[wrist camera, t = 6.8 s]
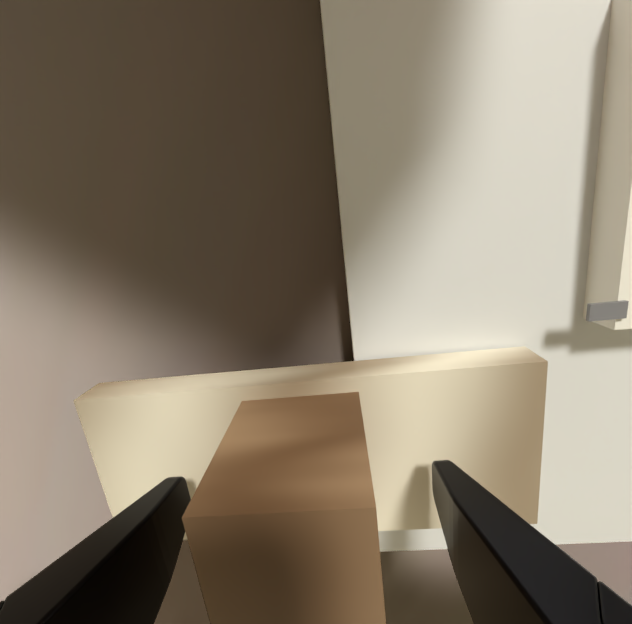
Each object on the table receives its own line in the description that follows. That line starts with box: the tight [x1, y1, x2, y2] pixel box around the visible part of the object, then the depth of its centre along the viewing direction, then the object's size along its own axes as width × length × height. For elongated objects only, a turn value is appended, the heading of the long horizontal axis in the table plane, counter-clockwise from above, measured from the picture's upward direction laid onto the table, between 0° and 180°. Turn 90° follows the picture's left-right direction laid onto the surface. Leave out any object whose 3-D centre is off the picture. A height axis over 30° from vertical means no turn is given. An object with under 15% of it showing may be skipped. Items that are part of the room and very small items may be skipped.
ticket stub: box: [74, 346, 548, 624], centre depth 8 cm, size 12×5×4 cm, turn 97°
